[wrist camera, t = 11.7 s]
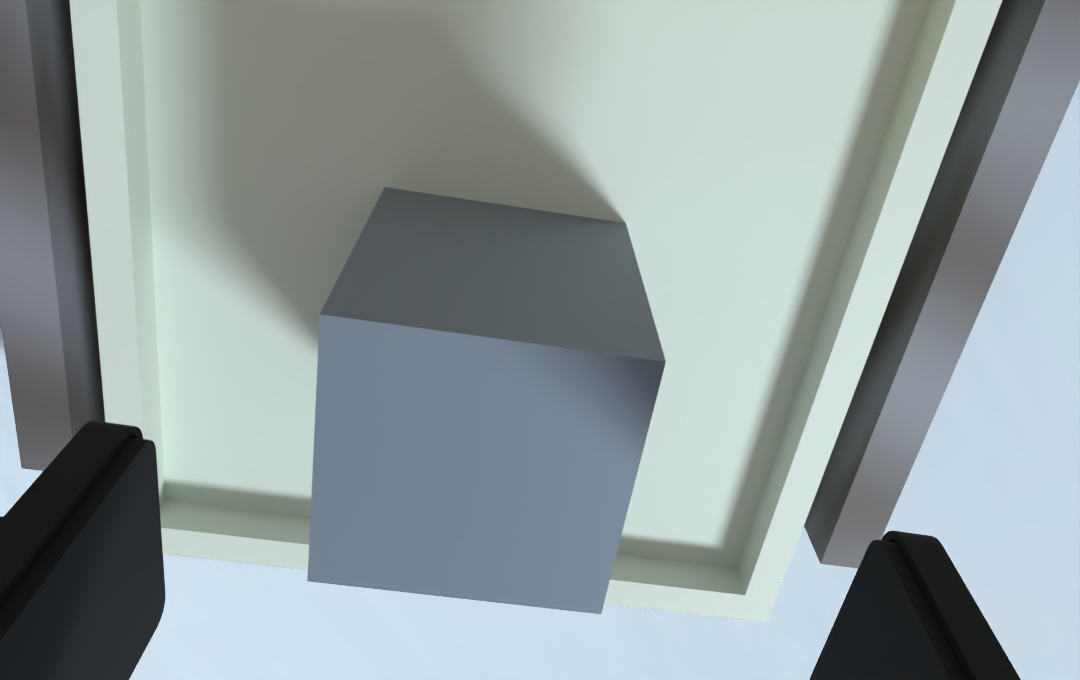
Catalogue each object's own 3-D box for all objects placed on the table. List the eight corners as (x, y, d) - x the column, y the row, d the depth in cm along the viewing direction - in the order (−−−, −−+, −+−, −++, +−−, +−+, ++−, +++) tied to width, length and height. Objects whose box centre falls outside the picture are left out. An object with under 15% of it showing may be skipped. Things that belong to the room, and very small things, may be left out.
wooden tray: (751, 572, 23) (813, 764, 18) (146, 501, 22) (28, 685, 17) (1074, -341, 14) (1381, -474, 9) (80, -550, 13) (-217, -843, 8)
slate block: (582, 424, 20) (601, 614, 15) (368, 396, 20) (308, 580, 14) (626, 222, 18) (666, 361, 13) (384, 186, 17) (319, 314, 12)
